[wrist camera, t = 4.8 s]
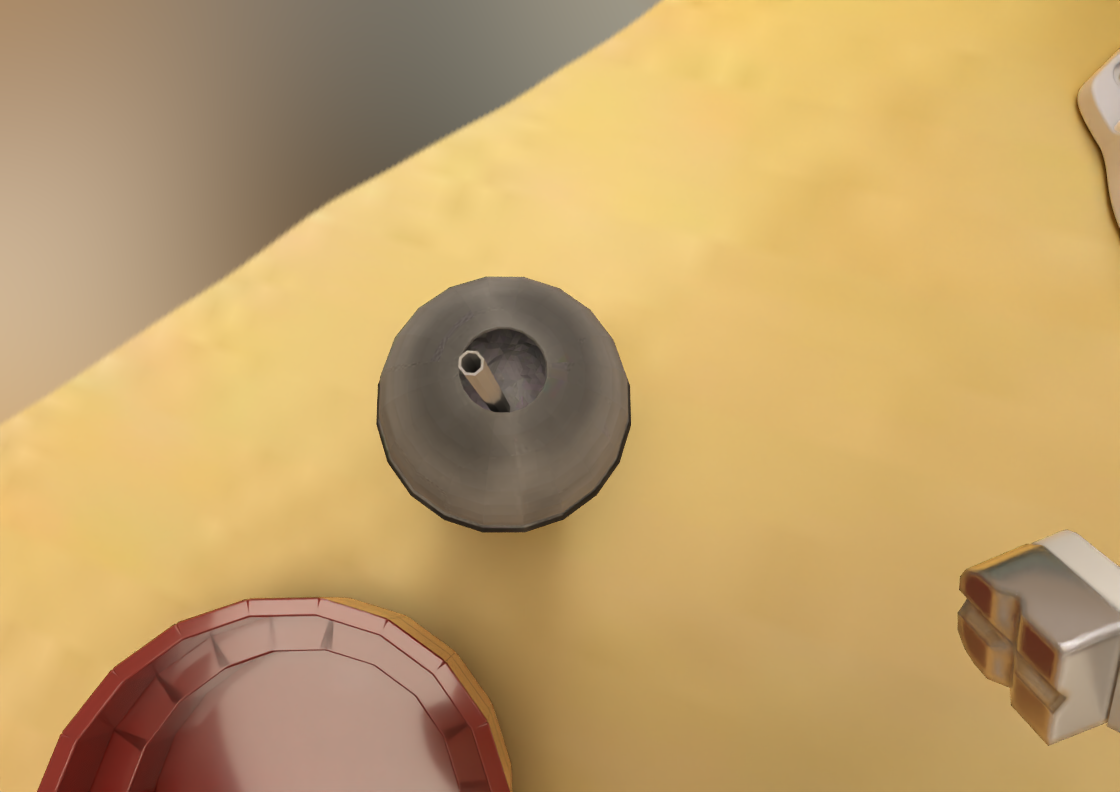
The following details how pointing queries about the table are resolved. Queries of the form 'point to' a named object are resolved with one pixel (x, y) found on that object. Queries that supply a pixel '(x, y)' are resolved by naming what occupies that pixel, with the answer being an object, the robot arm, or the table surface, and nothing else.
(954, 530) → the table surface
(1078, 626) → the robot arm
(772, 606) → the table surface
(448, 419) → the beverage cup
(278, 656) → the bowl
